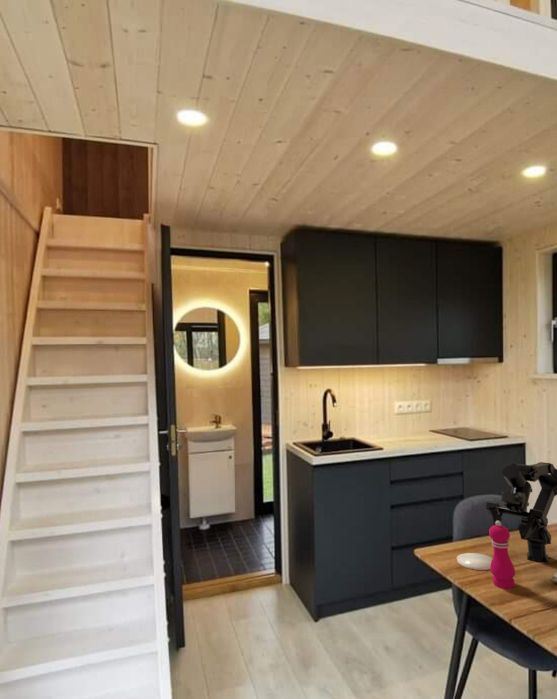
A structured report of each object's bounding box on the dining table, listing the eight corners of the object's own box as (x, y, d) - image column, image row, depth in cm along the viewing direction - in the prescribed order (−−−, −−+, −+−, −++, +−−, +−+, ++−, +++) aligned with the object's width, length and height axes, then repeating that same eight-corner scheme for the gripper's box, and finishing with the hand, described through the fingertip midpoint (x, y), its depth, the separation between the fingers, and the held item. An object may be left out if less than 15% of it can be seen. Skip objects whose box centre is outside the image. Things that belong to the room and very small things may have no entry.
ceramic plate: (460, 552, 164) (460, 550, 164) (497, 558, 158) (497, 556, 158) (454, 566, 153) (453, 563, 153) (494, 572, 147) (494, 570, 147)
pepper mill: (509, 591, 133) (503, 525, 135) (487, 583, 139) (481, 520, 141) (520, 584, 138) (514, 520, 139) (498, 577, 143) (492, 515, 145)
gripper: (484, 478, 156) (472, 516, 148) (541, 486, 142) (531, 528, 134) (496, 496, 160) (485, 534, 152) (552, 505, 146) (543, 547, 138)
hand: (509, 535), depth 144 cm, fingers open, 9 cm apart
